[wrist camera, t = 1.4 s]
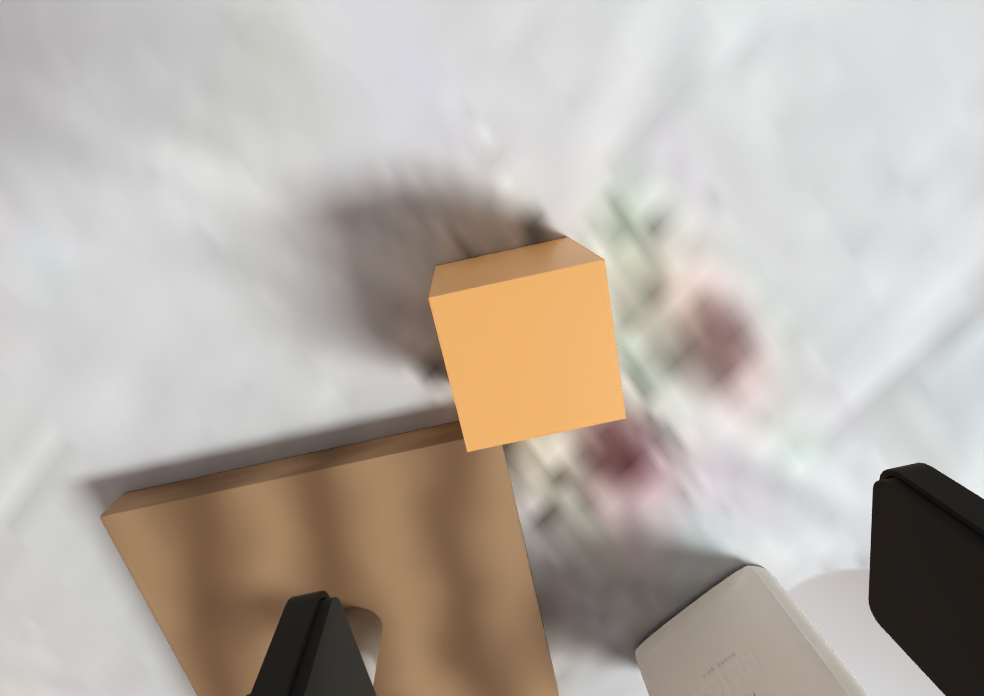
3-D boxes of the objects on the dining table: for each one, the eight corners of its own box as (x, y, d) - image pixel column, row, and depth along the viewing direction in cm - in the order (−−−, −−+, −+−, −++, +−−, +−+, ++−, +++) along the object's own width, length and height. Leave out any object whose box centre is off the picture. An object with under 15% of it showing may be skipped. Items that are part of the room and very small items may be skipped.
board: (495, 413, 28) (506, 491, 21) (557, 685, 34) (580, 809, 27) (124, 493, 28) (19, 595, 21) (256, 748, 34) (208, 887, 28)
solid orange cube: (568, 237, 25) (604, 259, 19) (587, 361, 27) (625, 418, 21) (435, 265, 25) (428, 297, 19) (465, 387, 27) (467, 452, 21)
